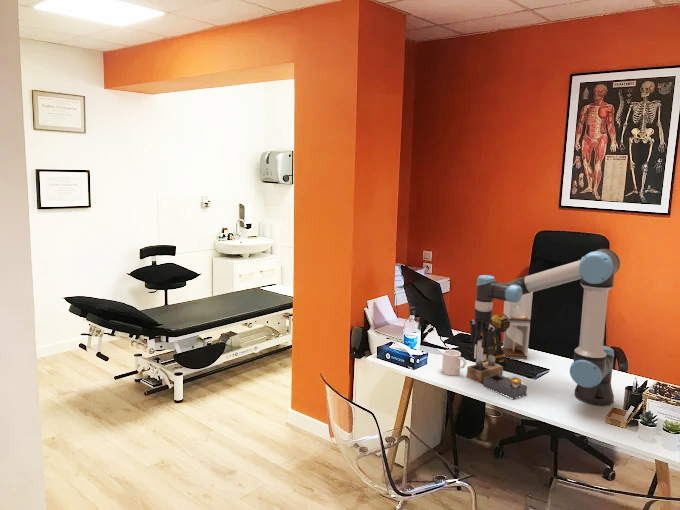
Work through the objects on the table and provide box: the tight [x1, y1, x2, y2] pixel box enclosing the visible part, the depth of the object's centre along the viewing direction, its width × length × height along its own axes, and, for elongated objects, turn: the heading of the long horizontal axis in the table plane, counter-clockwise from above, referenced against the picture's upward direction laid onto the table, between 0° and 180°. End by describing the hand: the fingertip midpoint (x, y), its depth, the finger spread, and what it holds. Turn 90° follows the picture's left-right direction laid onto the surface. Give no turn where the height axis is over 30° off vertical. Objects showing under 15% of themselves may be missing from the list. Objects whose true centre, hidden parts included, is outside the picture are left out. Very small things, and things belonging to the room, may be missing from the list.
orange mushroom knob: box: [509, 377, 522, 388], centre depth 229 cm, size 4×4×6 cm
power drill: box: [483, 314, 510, 365], centre depth 265 cm, size 8×19×25 cm, turn 31°
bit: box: [475, 338, 483, 371], centre depth 245 cm, size 3×3×15 cm
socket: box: [482, 374, 528, 399], centre depth 233 cm, size 16×9×4 cm, turn 34°
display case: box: [501, 292, 534, 361], centre depth 275 cm, size 11×11×35 cm
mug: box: [441, 349, 467, 376], centre depth 251 cm, size 8×12×10 cm
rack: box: [466, 355, 504, 384], centre depth 248 cm, size 8×15×9 cm, turn 124°
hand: (479, 359), depth 245 cm, fingers closed on bit, 3 cm apart
